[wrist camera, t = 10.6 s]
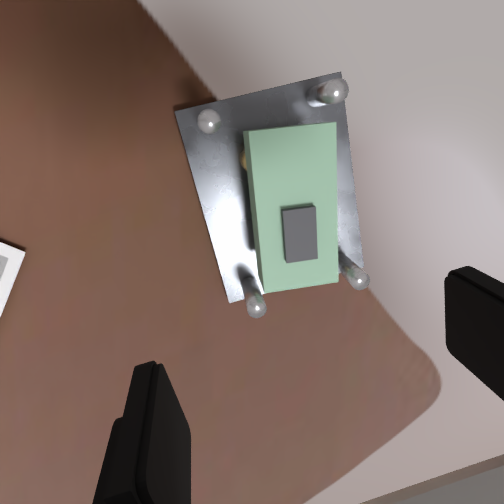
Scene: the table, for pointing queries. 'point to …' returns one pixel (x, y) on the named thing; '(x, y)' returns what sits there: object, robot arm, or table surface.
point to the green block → (294, 204)
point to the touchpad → (8, 270)
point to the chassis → (236, 180)
